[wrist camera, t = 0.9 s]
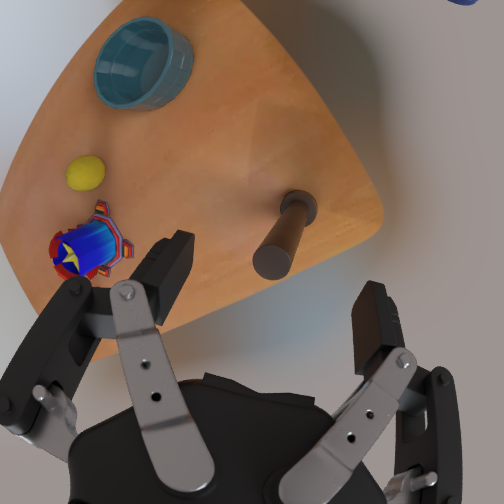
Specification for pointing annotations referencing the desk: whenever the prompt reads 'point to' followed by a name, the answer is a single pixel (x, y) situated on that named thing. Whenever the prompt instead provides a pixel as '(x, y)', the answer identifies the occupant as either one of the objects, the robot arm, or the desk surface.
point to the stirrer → (285, 236)
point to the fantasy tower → (90, 247)
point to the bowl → (143, 65)
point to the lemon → (85, 173)
